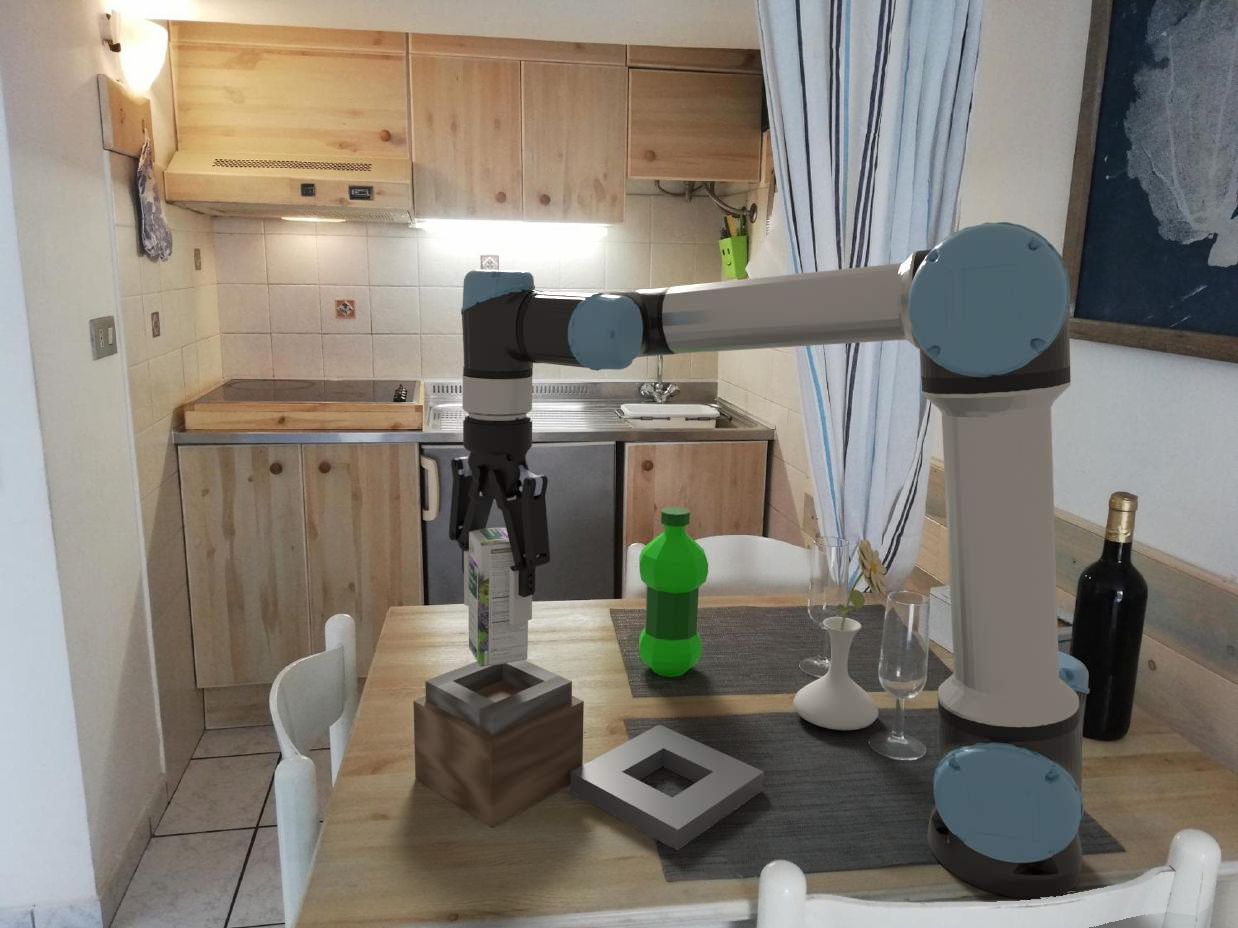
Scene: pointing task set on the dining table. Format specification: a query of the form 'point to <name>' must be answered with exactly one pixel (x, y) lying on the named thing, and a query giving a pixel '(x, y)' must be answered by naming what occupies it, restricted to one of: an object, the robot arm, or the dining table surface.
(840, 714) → the flower in vase
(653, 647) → the plastic bottle
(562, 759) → the raised socket
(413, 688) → the dining table surface
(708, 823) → the low socket block
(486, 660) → the syrup box
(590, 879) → the dining table surface
